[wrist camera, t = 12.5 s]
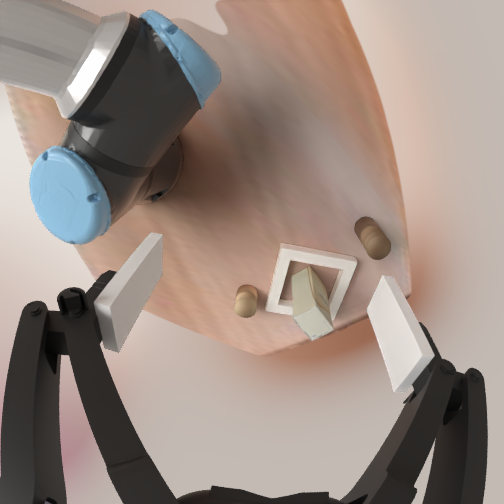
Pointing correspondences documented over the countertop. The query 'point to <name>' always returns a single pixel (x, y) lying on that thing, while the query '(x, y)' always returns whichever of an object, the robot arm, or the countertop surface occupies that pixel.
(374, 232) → the mid walnut dowel
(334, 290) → the white square frame
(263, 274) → the countertop surface
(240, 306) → the short oak dowel
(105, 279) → the robot arm
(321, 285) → the skincare box
